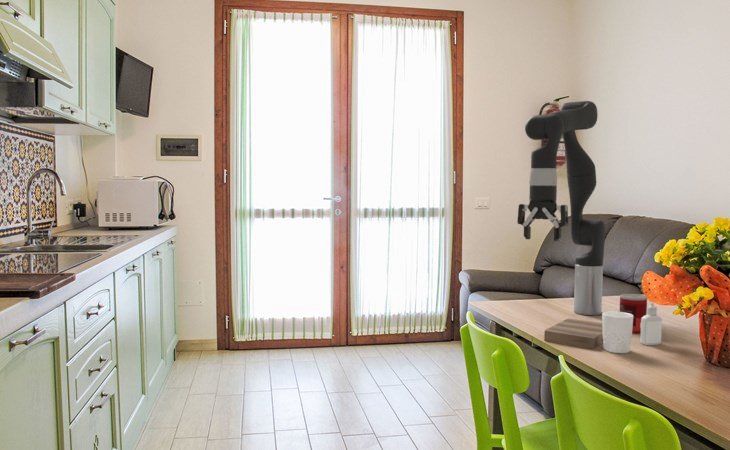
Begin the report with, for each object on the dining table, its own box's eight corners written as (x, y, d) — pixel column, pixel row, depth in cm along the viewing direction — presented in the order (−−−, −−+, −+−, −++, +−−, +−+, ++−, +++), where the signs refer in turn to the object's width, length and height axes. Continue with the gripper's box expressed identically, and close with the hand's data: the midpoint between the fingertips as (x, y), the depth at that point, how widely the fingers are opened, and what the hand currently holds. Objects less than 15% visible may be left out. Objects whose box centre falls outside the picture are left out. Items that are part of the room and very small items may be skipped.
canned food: (644, 328, 181) (645, 294, 180) (647, 334, 174) (648, 299, 173) (617, 326, 184) (618, 292, 183) (620, 332, 176) (621, 297, 175)
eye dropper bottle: (663, 346, 161) (664, 304, 160) (641, 345, 162) (642, 303, 161) (659, 342, 165) (661, 301, 164) (638, 341, 166) (639, 300, 166)
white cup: (596, 345, 161) (597, 311, 160) (624, 346, 161) (626, 311, 160) (607, 354, 153) (608, 317, 153) (637, 354, 153) (638, 317, 152)
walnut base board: (567, 327, 182) (568, 318, 182) (614, 334, 173) (614, 324, 173) (544, 340, 167) (544, 330, 166) (593, 349, 158) (594, 338, 158)
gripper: (572, 184, 164) (570, 240, 165) (524, 184, 173) (523, 237, 174) (563, 184, 158) (561, 242, 159) (514, 184, 167) (513, 239, 168)
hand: (541, 240), depth 167 cm, fingers open, 8 cm apart
